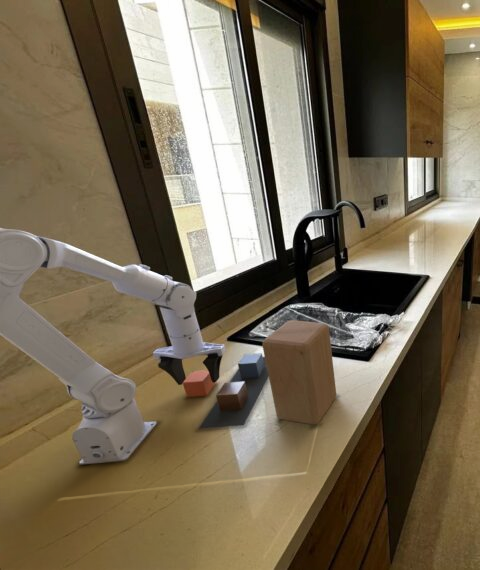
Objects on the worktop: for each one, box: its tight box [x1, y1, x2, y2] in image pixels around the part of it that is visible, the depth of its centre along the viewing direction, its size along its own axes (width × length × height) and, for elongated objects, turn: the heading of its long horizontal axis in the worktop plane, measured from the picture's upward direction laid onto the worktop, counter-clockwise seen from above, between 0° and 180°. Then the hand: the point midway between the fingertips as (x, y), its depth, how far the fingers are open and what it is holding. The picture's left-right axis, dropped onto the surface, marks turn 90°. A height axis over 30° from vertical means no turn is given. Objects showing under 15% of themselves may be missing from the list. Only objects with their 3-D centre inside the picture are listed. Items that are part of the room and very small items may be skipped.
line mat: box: [198, 356, 269, 430], centre depth 81 cm, size 26×9×1 cm, turn 7°
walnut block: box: [215, 381, 248, 411], centre depth 74 cm, size 4×4×4 cm
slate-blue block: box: [237, 352, 265, 378], centre depth 85 cm, size 4×4×4 cm
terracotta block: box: [182, 369, 216, 398], centre depth 79 cm, size 4×4×4 cm
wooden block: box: [262, 319, 337, 426], centre depth 71 cm, size 10×10×20 cm
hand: (199, 381), depth 79 cm, fingers open, 7 cm apart
